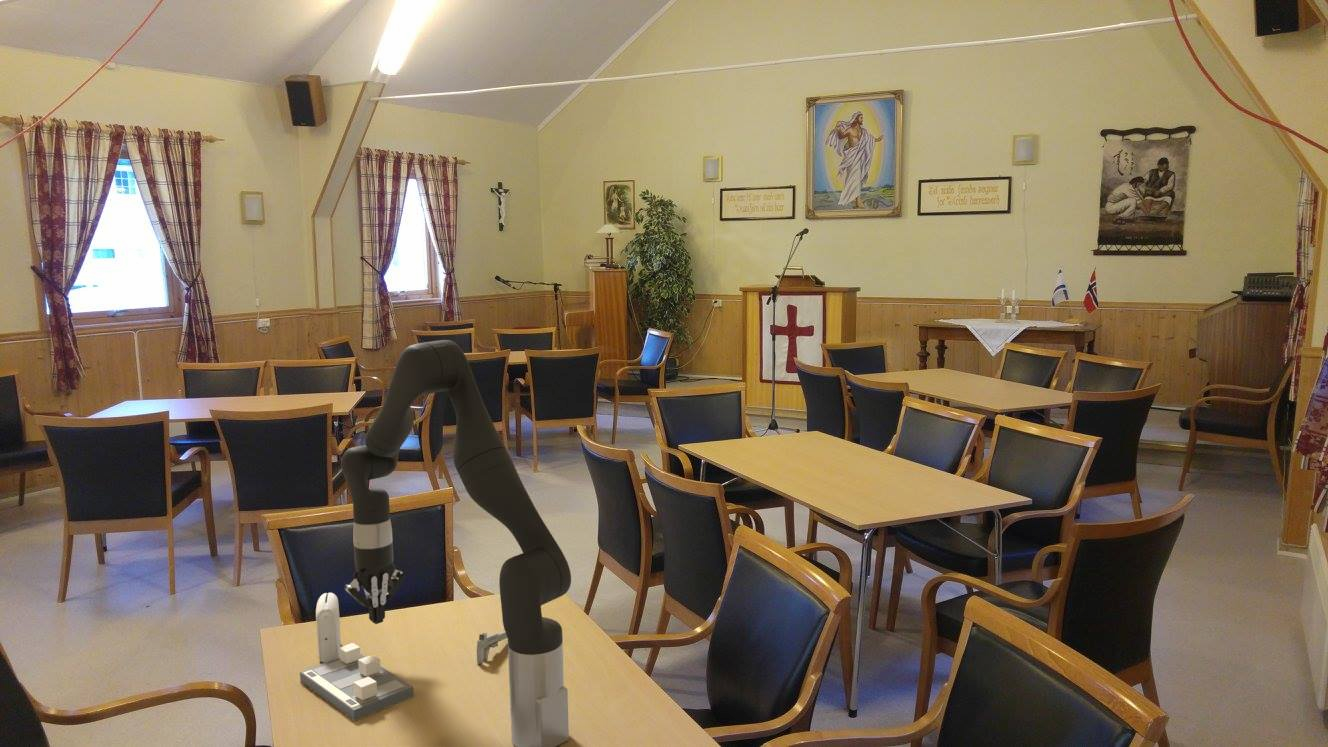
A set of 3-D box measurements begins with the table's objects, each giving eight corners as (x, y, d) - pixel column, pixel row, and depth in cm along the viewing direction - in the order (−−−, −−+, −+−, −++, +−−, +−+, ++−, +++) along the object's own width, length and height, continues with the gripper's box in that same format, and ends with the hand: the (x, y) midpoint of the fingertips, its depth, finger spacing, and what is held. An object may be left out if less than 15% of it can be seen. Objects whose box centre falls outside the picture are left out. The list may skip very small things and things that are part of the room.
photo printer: (340, 661, 185) (336, 604, 183) (317, 664, 184) (313, 607, 182) (342, 641, 195) (338, 586, 193) (321, 643, 194) (317, 589, 192)
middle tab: (380, 671, 175) (380, 659, 175) (366, 676, 173) (365, 664, 173) (373, 666, 177) (372, 654, 177) (358, 671, 175) (358, 659, 175)
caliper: (481, 666, 182) (480, 637, 182) (477, 666, 183) (475, 636, 182) (528, 626, 202) (527, 600, 201) (523, 626, 202) (523, 599, 201)
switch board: (413, 696, 170) (413, 685, 170) (354, 720, 162) (353, 709, 161) (357, 660, 185) (356, 651, 185) (300, 681, 177) (299, 671, 176)
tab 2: (377, 694, 166) (376, 681, 166) (362, 700, 164) (361, 687, 164) (369, 689, 168) (368, 676, 168) (354, 694, 166) (353, 682, 166)
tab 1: (360, 658, 181) (359, 647, 180) (346, 663, 179) (345, 652, 178) (353, 654, 183) (352, 642, 182) (339, 659, 181) (338, 647, 180)
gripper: (351, 553, 175) (356, 637, 177) (412, 537, 184) (415, 617, 187) (333, 544, 180) (338, 626, 182) (393, 529, 189) (397, 607, 192)
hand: (377, 622), depth 185 cm, fingers closed
